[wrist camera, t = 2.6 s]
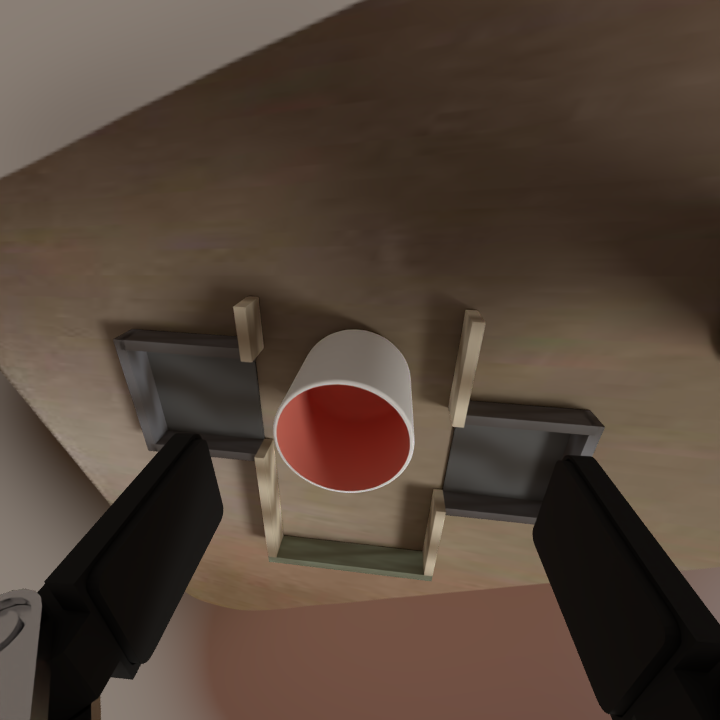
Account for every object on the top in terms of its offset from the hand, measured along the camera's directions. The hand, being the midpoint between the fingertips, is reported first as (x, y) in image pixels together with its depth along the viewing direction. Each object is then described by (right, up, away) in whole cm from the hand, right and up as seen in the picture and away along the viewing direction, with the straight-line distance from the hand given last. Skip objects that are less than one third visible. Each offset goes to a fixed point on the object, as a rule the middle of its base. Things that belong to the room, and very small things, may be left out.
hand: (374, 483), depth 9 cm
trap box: (-1, -6, +28) cm, 28 cm away
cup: (-1, +2, +24) cm, 24 cm away
